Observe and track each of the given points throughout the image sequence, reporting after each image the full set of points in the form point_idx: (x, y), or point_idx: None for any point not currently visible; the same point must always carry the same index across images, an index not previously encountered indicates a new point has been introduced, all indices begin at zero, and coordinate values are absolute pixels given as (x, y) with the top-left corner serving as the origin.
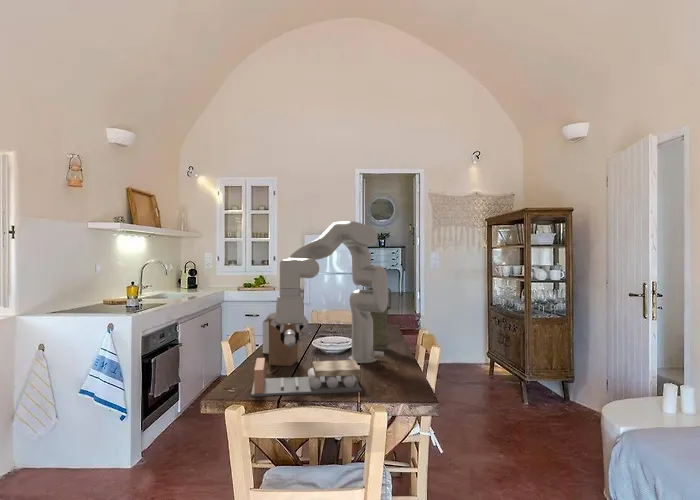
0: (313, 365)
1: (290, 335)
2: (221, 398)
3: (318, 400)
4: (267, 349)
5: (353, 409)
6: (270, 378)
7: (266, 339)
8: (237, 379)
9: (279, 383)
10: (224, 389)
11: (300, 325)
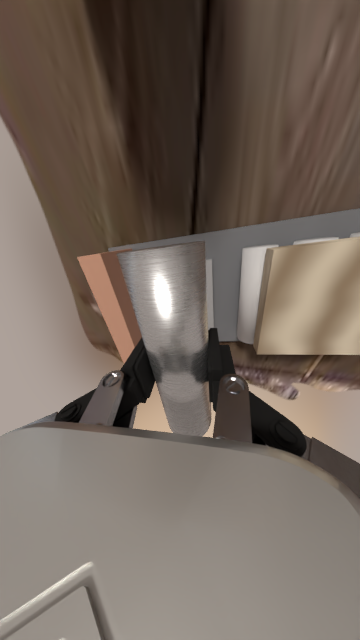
0: (266, 280)
1: (188, 431)
2: (104, 342)
3: (243, 364)
4: None
5: (284, 396)
6: (143, 245)
7: None
8: (68, 231)
9: None
10: (84, 303)
11: (266, 440)
